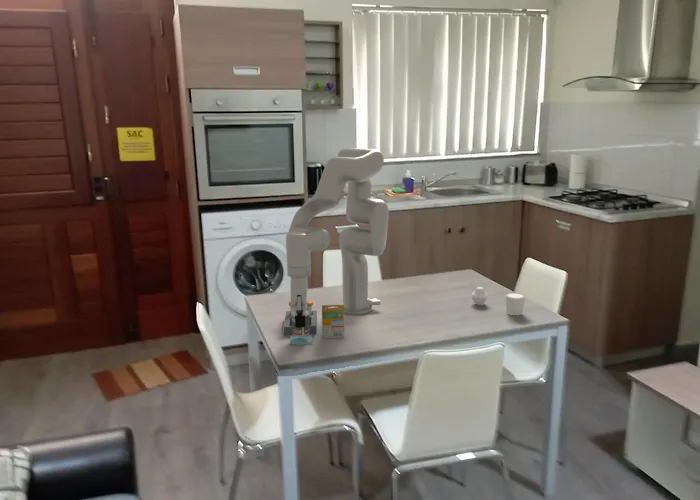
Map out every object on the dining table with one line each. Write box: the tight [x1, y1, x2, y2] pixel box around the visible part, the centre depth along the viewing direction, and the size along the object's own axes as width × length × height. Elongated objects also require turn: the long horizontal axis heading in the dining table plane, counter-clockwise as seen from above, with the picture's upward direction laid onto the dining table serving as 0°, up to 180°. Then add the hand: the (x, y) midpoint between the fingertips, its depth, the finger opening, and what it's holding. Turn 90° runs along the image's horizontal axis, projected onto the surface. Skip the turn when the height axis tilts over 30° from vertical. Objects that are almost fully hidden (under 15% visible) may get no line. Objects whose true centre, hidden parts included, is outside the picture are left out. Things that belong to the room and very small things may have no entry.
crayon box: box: [321, 304, 345, 339], centre depth 185 cm, size 7×3×12 cm, turn 92°
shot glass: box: [505, 292, 526, 315], centre depth 205 cm, size 7×7×7 cm
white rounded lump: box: [471, 286, 489, 306], centre depth 215 cm, size 6×6×7 cm
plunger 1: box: [288, 300, 294, 315], centre depth 200 cm, size 4×4×7 cm
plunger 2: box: [306, 299, 314, 315], centre depth 200 cm, size 4×4×7 cm
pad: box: [289, 334, 313, 346], centre depth 184 cm, size 7×7×1 cm
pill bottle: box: [292, 304, 310, 337], centre depth 182 cm, size 6×6×10 cm
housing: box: [283, 310, 318, 336], centre depth 195 cm, size 11×15×3 cm
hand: (300, 322), depth 183 cm, fingers closed on pill bottle, 5 cm apart
